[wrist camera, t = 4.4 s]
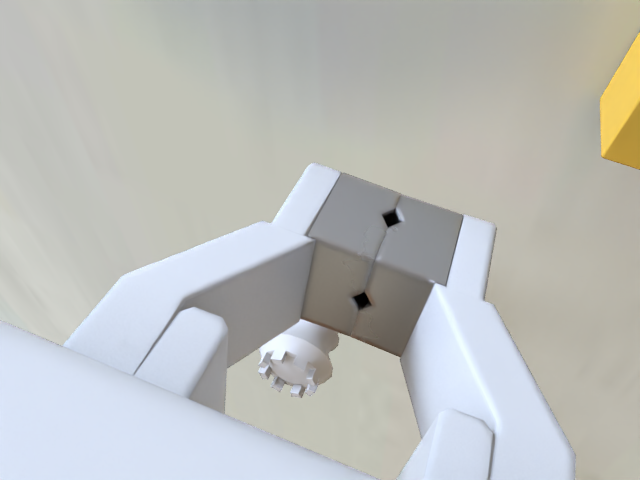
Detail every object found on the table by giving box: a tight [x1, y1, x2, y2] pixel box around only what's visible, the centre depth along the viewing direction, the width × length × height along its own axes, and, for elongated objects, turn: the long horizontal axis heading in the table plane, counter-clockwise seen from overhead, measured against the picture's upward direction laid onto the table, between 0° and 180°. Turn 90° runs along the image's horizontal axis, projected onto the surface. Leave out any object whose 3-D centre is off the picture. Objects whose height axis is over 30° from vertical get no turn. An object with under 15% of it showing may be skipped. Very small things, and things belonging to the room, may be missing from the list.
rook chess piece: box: [258, 319, 339, 398], centre depth 25 cm, size 4×4×8 cm
